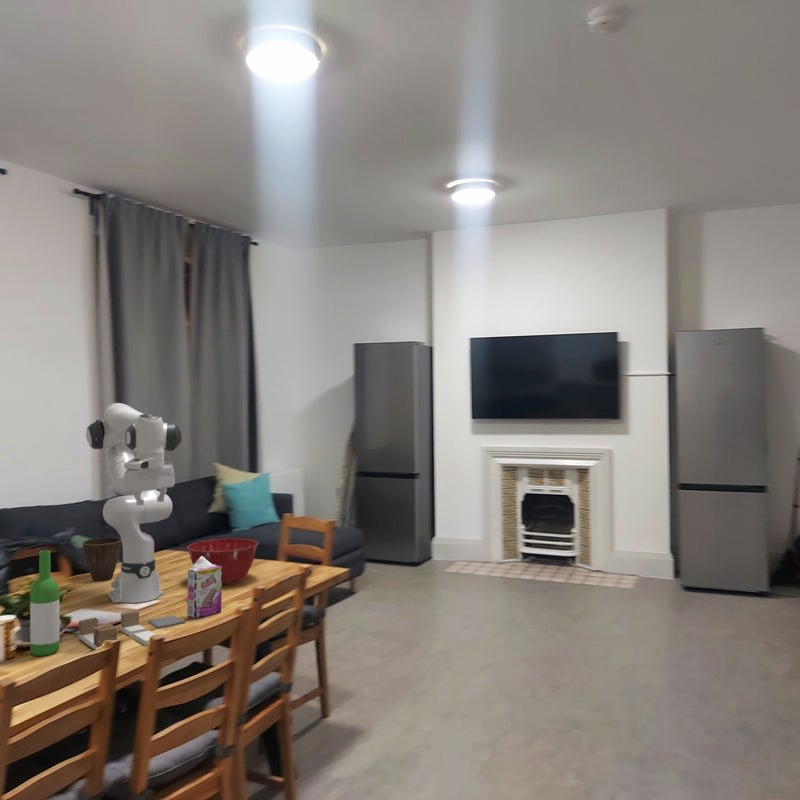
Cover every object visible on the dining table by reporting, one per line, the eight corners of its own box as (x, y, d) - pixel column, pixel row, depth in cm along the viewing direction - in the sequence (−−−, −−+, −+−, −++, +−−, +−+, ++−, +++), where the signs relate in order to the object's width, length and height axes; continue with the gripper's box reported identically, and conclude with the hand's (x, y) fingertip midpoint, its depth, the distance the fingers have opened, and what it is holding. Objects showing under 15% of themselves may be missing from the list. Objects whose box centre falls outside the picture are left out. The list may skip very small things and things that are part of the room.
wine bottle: (30, 650, 218) (30, 549, 218) (59, 646, 221) (59, 547, 221) (29, 658, 211) (29, 554, 211) (59, 654, 214) (59, 552, 214)
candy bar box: (195, 619, 248) (195, 571, 248) (186, 617, 251) (186, 569, 251) (222, 612, 257) (222, 565, 257) (213, 609, 260) (213, 563, 260)
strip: (78, 638, 228) (78, 620, 228) (95, 634, 231) (95, 617, 231) (101, 654, 213) (101, 635, 213) (118, 650, 216) (118, 632, 216)
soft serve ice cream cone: (196, 595, 279) (196, 553, 279) (217, 595, 279) (217, 553, 279) (187, 601, 271) (187, 557, 271) (209, 601, 270) (209, 558, 270)
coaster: (147, 622, 245) (147, 620, 245) (173, 617, 251) (173, 615, 251) (158, 628, 238) (158, 626, 238) (184, 623, 244) (184, 621, 244)
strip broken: (120, 630, 237) (120, 613, 237) (135, 627, 240) (135, 610, 240) (145, 645, 222) (145, 627, 222) (161, 642, 225) (161, 624, 225)
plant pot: (94, 585, 294) (94, 546, 294) (75, 580, 303) (75, 541, 303) (128, 578, 306) (128, 540, 306) (108, 573, 315) (108, 536, 315)
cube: (93, 644, 218) (93, 627, 218) (110, 640, 221) (110, 623, 221) (99, 648, 214) (99, 631, 214) (116, 644, 217) (116, 627, 217)
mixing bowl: (175, 580, 302) (175, 543, 302) (237, 570, 320) (237, 535, 320) (206, 594, 280) (206, 554, 280) (271, 582, 299) (271, 544, 299)
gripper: (165, 459, 256) (165, 499, 256) (120, 464, 238) (120, 506, 237) (179, 460, 253) (179, 500, 253) (134, 464, 235) (134, 507, 235)
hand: (150, 503), depth 245 cm, fingers open, 8 cm apart
